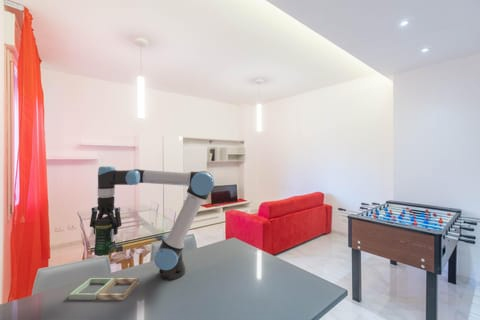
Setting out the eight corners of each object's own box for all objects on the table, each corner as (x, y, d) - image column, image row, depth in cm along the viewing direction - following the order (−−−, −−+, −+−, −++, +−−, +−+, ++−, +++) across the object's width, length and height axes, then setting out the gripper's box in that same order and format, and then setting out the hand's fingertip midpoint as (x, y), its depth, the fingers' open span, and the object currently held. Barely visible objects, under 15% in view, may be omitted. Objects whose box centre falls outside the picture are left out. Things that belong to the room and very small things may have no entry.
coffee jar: (107, 257, 110) (107, 219, 110) (91, 256, 111) (91, 219, 111) (118, 249, 120) (118, 214, 120) (103, 248, 120) (104, 214, 120)
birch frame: (138, 282, 123) (138, 278, 123) (123, 299, 108) (123, 294, 108) (115, 282, 123) (115, 278, 123) (97, 299, 108) (97, 294, 108)
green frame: (113, 282, 123) (113, 278, 123) (95, 299, 108) (95, 294, 108) (90, 282, 123) (90, 277, 123) (69, 299, 108) (69, 294, 108)
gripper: (129, 195, 119) (129, 238, 119) (91, 195, 119) (90, 237, 119) (122, 197, 111) (121, 243, 111) (81, 197, 112) (80, 242, 112)
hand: (105, 240), depth 115 cm, fingers closed on coffee jar, 8 cm apart
